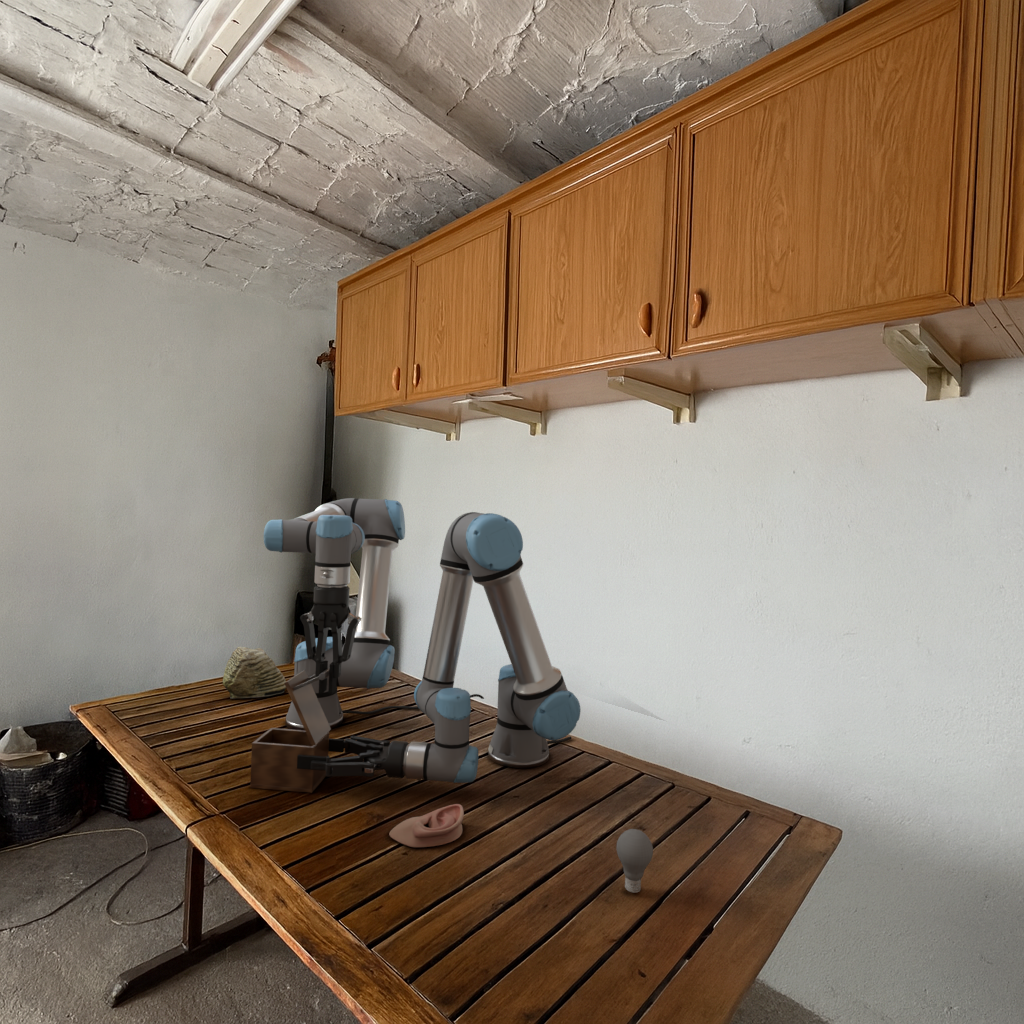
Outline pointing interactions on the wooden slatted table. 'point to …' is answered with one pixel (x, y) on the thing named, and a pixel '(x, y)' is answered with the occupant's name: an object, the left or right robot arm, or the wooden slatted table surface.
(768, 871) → the wooden slatted table surface
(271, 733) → the chest
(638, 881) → the light bulb
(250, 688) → the fossil
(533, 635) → the right robot arm
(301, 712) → the lid
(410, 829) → the anatomical model
